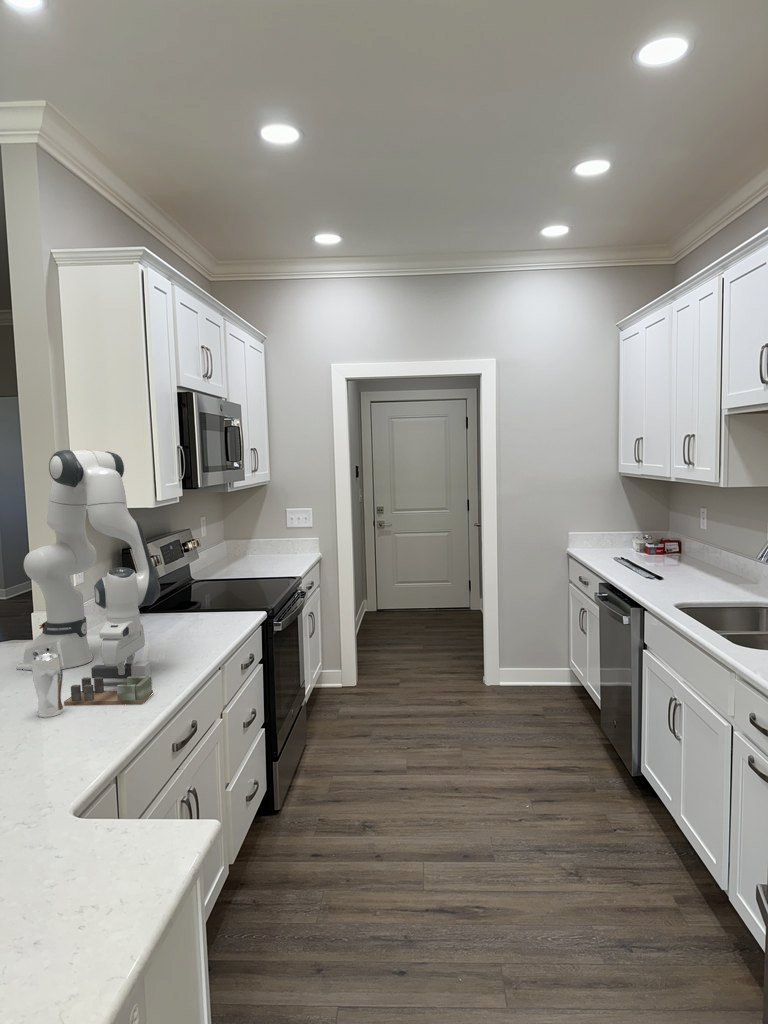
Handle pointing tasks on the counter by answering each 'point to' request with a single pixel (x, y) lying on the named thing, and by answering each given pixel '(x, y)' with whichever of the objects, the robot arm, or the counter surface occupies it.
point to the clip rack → (110, 692)
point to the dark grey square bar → (131, 671)
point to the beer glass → (48, 683)
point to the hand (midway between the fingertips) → (125, 671)
